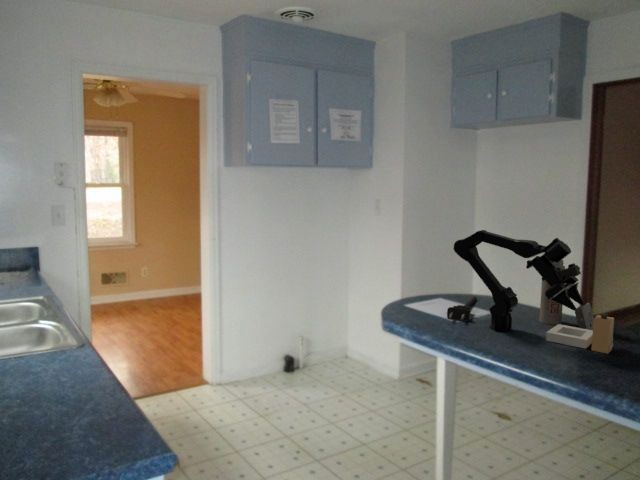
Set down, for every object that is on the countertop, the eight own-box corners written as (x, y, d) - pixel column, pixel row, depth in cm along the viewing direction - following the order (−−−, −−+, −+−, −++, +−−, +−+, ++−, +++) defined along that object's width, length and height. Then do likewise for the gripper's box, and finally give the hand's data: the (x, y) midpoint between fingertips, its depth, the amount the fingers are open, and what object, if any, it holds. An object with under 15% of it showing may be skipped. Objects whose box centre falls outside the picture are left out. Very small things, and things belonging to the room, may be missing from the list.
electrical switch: (589, 333, 199) (588, 308, 198) (574, 331, 202) (573, 307, 202) (595, 327, 206) (594, 303, 206) (580, 326, 210) (580, 302, 209)
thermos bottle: (561, 325, 208) (566, 253, 204) (539, 323, 211) (543, 252, 207) (561, 320, 215) (565, 250, 211) (539, 318, 218) (543, 249, 214)
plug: (591, 350, 180) (594, 314, 179) (595, 346, 184) (598, 311, 182) (609, 354, 177) (612, 317, 175) (613, 350, 180) (616, 314, 179)
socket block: (545, 340, 190) (546, 332, 190) (557, 332, 200) (558, 324, 199) (585, 348, 182) (586, 340, 181) (596, 339, 191) (596, 331, 191)
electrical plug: (444, 321, 213) (444, 309, 212) (464, 302, 250) (465, 292, 250) (466, 324, 209) (467, 311, 209) (484, 304, 246) (484, 293, 246)
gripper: (557, 260, 178) (591, 298, 172) (574, 253, 192) (605, 288, 186) (531, 280, 184) (563, 317, 178) (549, 272, 198) (579, 306, 193)
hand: (579, 306), depth 184 cm, fingers open, 9 cm apart
